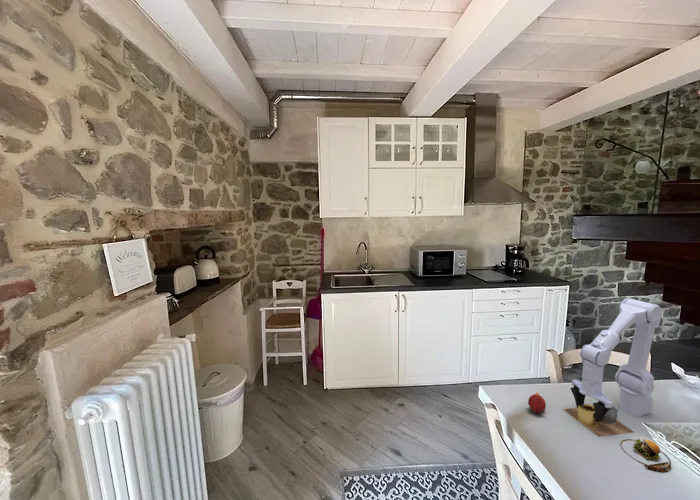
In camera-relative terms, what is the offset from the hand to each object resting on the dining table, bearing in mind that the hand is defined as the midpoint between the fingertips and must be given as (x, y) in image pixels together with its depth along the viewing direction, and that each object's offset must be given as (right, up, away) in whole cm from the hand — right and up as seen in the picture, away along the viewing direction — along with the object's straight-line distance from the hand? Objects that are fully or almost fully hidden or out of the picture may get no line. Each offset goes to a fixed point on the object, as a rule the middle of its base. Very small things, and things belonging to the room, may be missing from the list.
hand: (588, 414), depth 114 cm
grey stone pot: (+7, -2, +1) cm, 8 cm away
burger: (+6, -6, -15) cm, 17 cm away
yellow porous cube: (0, -3, 0) cm, 3 cm away
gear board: (+3, -4, +1) cm, 5 cm away
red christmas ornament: (-15, -3, +7) cm, 17 cm away
